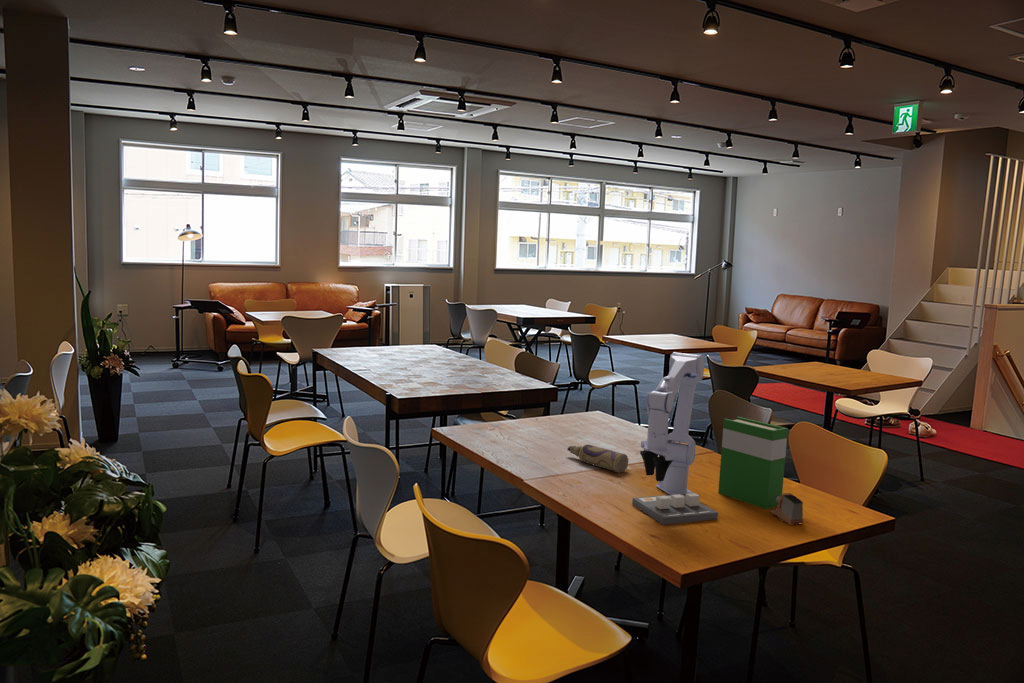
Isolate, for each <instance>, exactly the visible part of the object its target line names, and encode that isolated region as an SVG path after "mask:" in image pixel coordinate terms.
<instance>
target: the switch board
mask: <svg viewBox="0 0 1024 683" xmlns="http://www.w3.org/2000/svg"><path fill="white" fill-rule="evenodd" d="M673 495H677V494H673ZM680 495H682V496H684V497H685V500H686V494H680ZM656 496H657V495H650V496H641V497H640V496H639V497H632V504H633V505H632V506H634V505H635V506H636V509H638V508H639V509H638V510H640V509H641V510H642V511H641V510H640V511H641V512H643V513H644V512H645V513H644V514H646V515H647V514H648V515H647V516H648V517H650V518H652V519H654V520H655V521H656V522H658V523H659V524H661V525H663V526H664V525H673V524H684V523H694V522H704V521H712V520H713V521H715V520H718V519H719V511H716V510H715V509H714V508H711V507H709V506H708V505H706V504H704V503H702V502H701V501H699V506H688V505H687V504H685V503H684V507H680V508H675V507H673V506H671V495H670V494H665V495H664V494H663V495H660V496H667V497H669V498H670V504H669V509H659V508H657V507H656ZM635 506H634V507H635Z"/></svg>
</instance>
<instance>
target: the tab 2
mask: <svg viewBox="0 0 1024 683" xmlns="http://www.w3.org/2000/svg"><path fill="white" fill-rule="evenodd" d="M699 502H700V495H699V494H698V493H695V492H693V493H689V494H686V500H685V504H687V505H688V506H699Z"/></svg>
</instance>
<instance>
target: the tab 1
mask: <svg viewBox="0 0 1024 683" xmlns="http://www.w3.org/2000/svg"><path fill="white" fill-rule="evenodd" d="M655 496H656V507H657V508H659V509H669V504H670V498H669V497H667V496H661V495H655Z"/></svg>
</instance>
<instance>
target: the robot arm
mask: <svg viewBox="0 0 1024 683" xmlns="http://www.w3.org/2000/svg"><path fill="white" fill-rule="evenodd" d="M668 364H669V369H670V370H669V372H668V374H667V376H663V377H662V378H661V380H660V382H658V385H657V386H656V388H655V390H652V391H650V392H649V393H648V394H647V397H646V403H645V405H646V409H647V411H646V415H647V417H648V420H647V421H648V422H647V440H642V441H640V448H642V449H643V450H639V451H640V452H639V454H640V456H641V458H642V461H643V465H644V471H645V475H646V476H654V474H655V481H656V482H658V484H655V487H656V488H658V489H659V490H661V491H663V492H665V493H666V494H667V495H673V494H689V493H694V492H693V491H691V490H690V489H688V483H689V470H690V468H689V467H690V466H691V465H692V464H694V462H695V460H696V459H695V458H696V446H697V444H696V441H695V440H694V439H693V437H692V436H690V435H689V432H690V431H689V430H690V424H691V420H692V419H691V418H692V410H693V404H694V399H695V391H696V387H697V383H700V382H702V381H703V377H704V373H705V365H706V363H705V357H704V356H703V354H695V353H684V352H683V353H682V352H677V351H673V352H672V353H671V355H670V358H669V362H668ZM678 392H679V393H678ZM677 393H678V396H677V405H676V410H675V417H674V422H673V429H672V432H670V433H669V420H670V418H669V417H670V413H671V411H672V410H673V406H674V405H673V404H674V401H675V396H676V394H677ZM673 441H676V442H677V443H674V442H673ZM679 442H680V443H679Z"/></svg>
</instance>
